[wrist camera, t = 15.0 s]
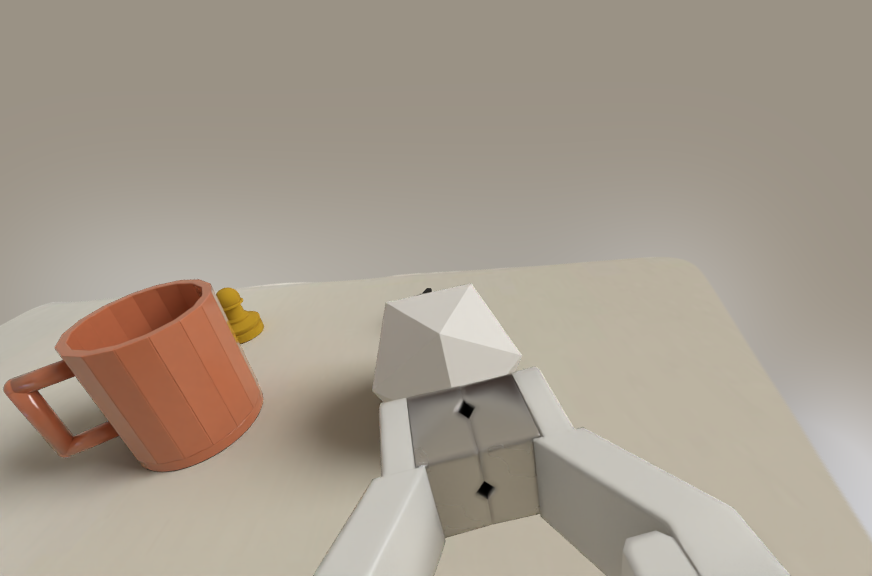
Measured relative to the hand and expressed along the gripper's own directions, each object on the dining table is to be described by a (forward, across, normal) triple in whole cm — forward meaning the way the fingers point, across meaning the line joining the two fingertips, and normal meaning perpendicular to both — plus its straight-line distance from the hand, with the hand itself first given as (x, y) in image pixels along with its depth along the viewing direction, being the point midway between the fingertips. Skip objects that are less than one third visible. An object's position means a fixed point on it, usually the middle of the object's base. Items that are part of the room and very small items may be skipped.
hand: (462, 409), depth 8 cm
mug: (+19, -19, -14) cm, 31 cm away
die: (+15, 0, -14) cm, 21 cm away
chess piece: (+32, -18, -15) cm, 39 cm away
